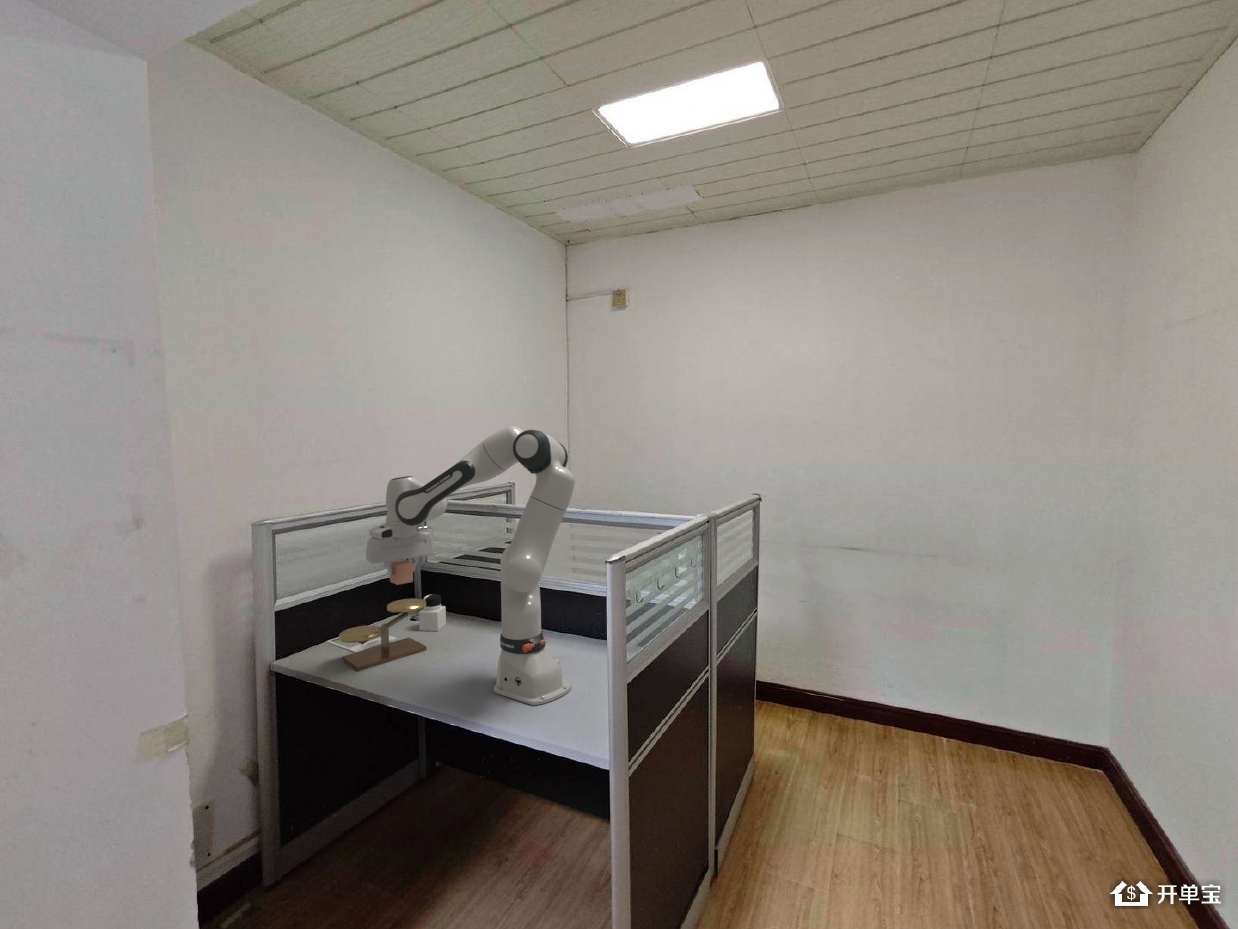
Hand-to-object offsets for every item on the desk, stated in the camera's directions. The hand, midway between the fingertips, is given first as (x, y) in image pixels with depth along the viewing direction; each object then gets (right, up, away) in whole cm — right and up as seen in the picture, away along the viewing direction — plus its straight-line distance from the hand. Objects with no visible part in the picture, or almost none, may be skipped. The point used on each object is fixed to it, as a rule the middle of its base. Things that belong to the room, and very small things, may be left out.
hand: (401, 573), depth 168 cm
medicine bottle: (-1, -27, +32) cm, 42 cm away
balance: (-8, -28, +7) cm, 30 cm away
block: (0, -3, 0) cm, 3 cm away
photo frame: (-21, -28, +20) cm, 40 cm away
